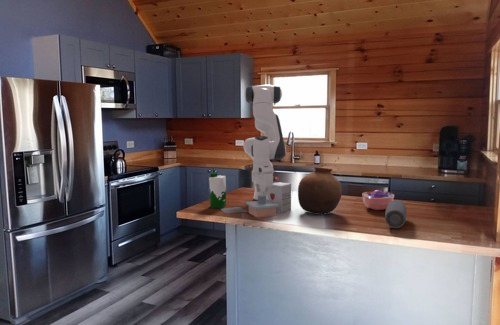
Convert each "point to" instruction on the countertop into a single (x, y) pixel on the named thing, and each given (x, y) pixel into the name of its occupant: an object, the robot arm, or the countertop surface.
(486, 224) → the countertop surface
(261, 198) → the lid
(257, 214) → the dish
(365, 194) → the cell model
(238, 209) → the mat
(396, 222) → the bluetooth speaker
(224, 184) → the milk carton
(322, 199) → the pottery
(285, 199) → the supplement box
